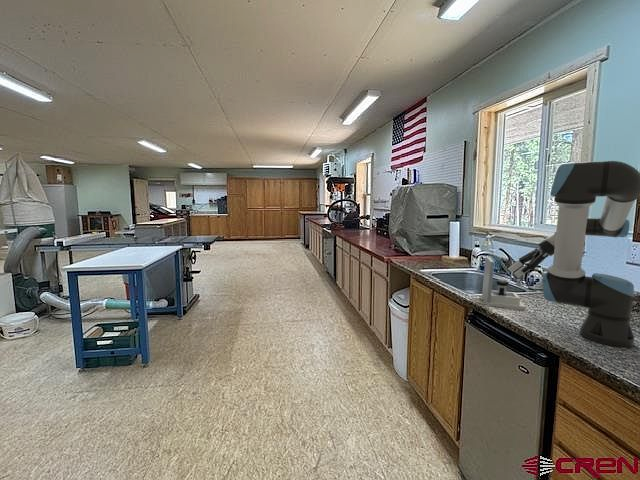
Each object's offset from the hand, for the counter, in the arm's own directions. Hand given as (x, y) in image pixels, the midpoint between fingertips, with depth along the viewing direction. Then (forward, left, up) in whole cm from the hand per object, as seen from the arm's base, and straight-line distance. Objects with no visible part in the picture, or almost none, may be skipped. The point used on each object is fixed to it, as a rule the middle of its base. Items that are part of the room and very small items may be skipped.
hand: (512, 273), depth 161 cm
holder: (0, +3, -15) cm, 16 cm away
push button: (0, +3, -14) cm, 14 cm away
